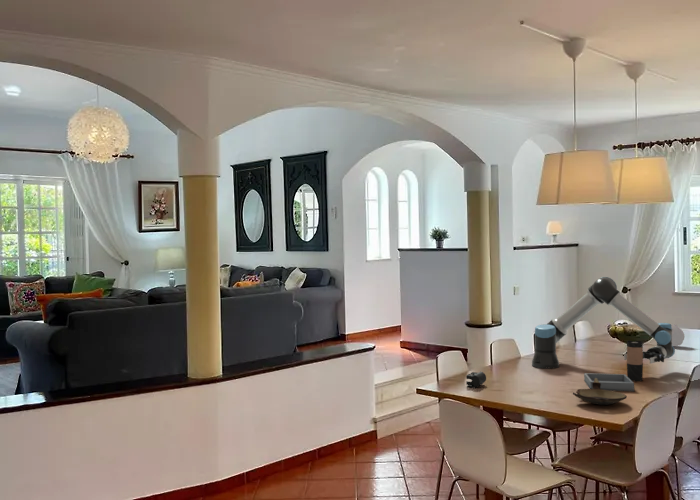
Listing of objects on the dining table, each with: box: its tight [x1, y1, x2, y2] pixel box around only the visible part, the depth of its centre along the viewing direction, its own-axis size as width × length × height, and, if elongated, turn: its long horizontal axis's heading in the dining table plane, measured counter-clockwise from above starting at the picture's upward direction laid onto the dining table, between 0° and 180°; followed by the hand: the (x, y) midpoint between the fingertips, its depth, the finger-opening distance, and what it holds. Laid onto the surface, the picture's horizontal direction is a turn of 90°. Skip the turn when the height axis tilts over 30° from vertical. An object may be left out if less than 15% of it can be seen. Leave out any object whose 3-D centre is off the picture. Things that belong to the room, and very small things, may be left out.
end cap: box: [465, 371, 487, 389], centre depth 325 cm, size 10×7×7 cm
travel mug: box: [626, 340, 644, 382], centre depth 334 cm, size 8×8×20 cm
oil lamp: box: [572, 378, 627, 406], centre depth 291 cm, size 22×30×8 cm
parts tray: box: [583, 372, 635, 392], centre depth 321 cm, size 20×20×4 cm
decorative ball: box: [671, 323, 685, 347], centre depth 429 cm, size 15×13×15 cm
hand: (637, 359), depth 334 cm, fingers open, 13 cm apart
